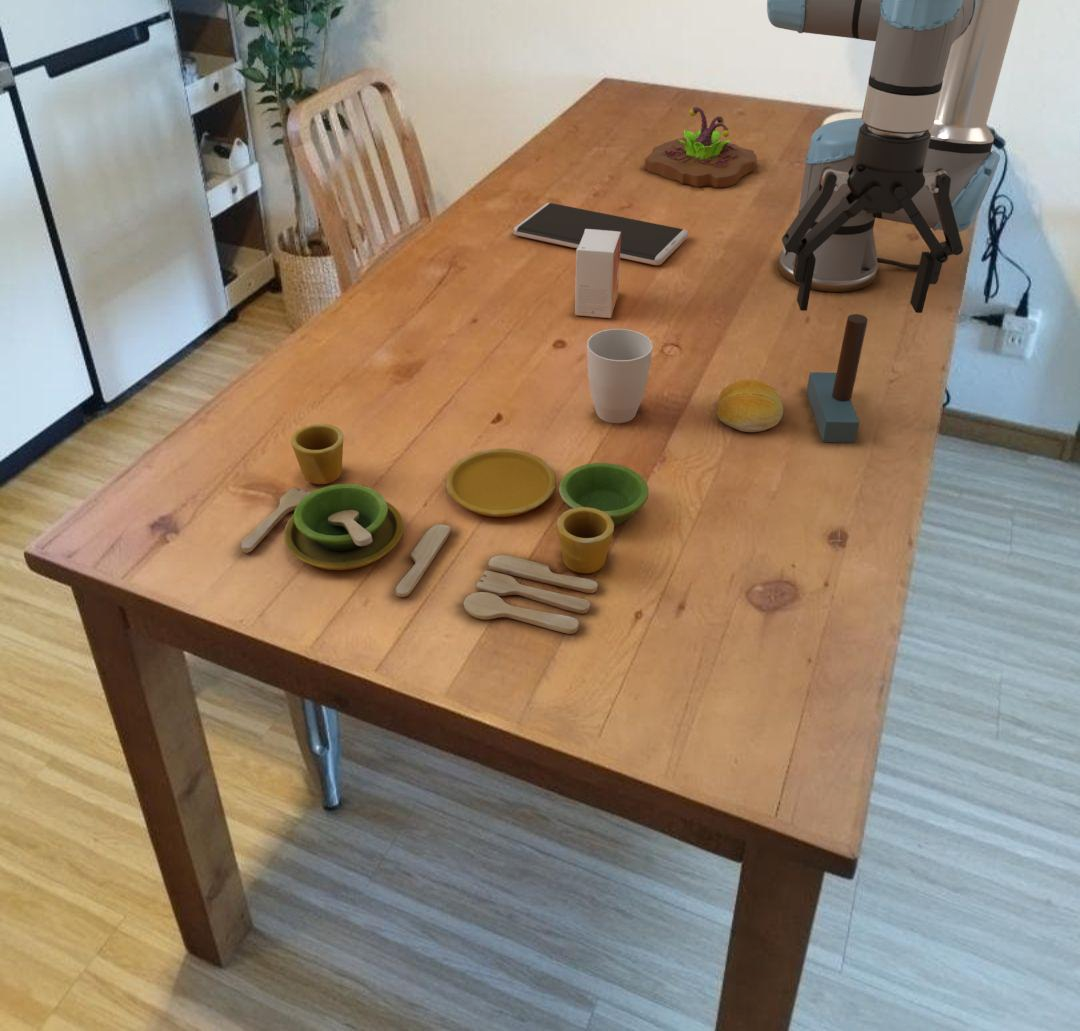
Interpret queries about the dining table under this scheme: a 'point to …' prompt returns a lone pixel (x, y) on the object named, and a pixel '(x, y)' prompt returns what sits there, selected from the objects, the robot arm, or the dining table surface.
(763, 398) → the bread roll
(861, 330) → the hammer
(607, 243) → the small box
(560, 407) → the dining table surface
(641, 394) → the cup
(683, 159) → the plant
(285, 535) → the tableware set
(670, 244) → the smartphone
